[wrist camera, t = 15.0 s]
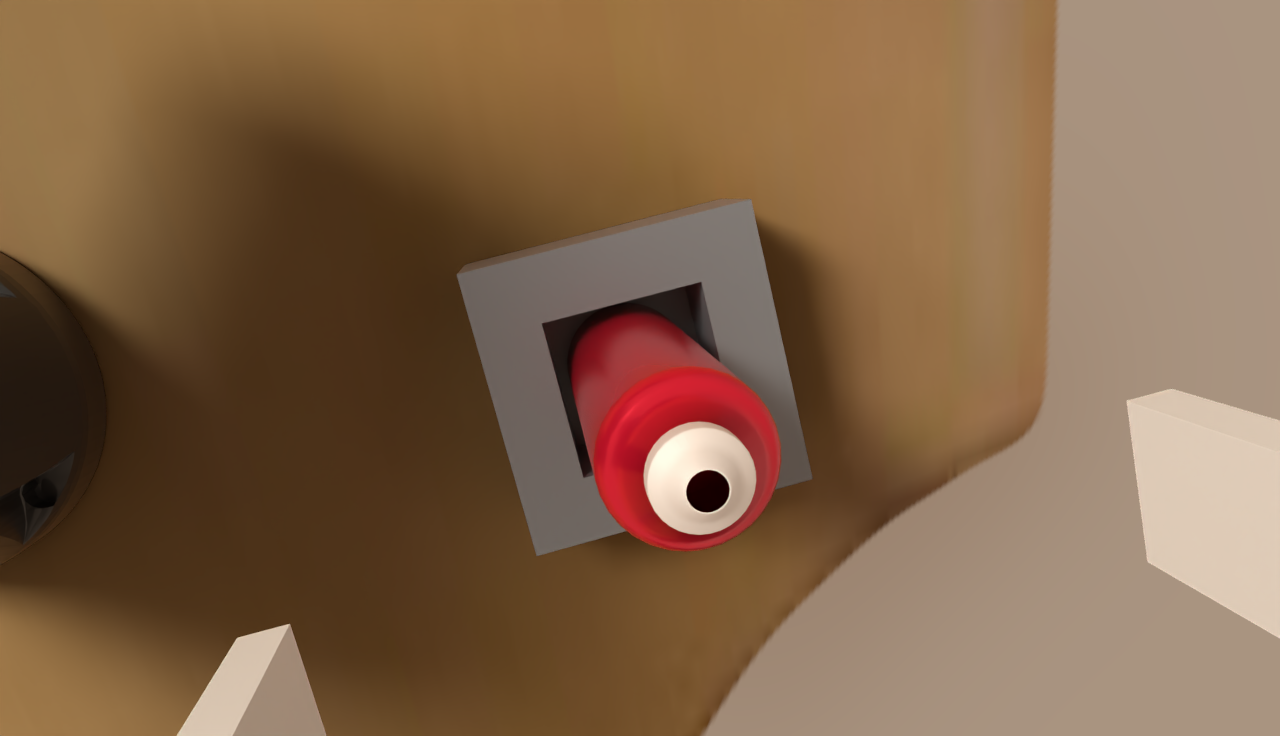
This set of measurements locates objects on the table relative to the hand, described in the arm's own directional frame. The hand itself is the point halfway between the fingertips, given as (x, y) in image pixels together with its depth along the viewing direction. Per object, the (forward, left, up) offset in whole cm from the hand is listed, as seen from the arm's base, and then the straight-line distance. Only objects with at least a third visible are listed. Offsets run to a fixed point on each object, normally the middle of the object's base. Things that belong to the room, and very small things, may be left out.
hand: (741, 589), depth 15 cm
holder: (+1, -2, -31) cm, 31 cm away
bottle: (+1, -2, -30) cm, 30 cm away
